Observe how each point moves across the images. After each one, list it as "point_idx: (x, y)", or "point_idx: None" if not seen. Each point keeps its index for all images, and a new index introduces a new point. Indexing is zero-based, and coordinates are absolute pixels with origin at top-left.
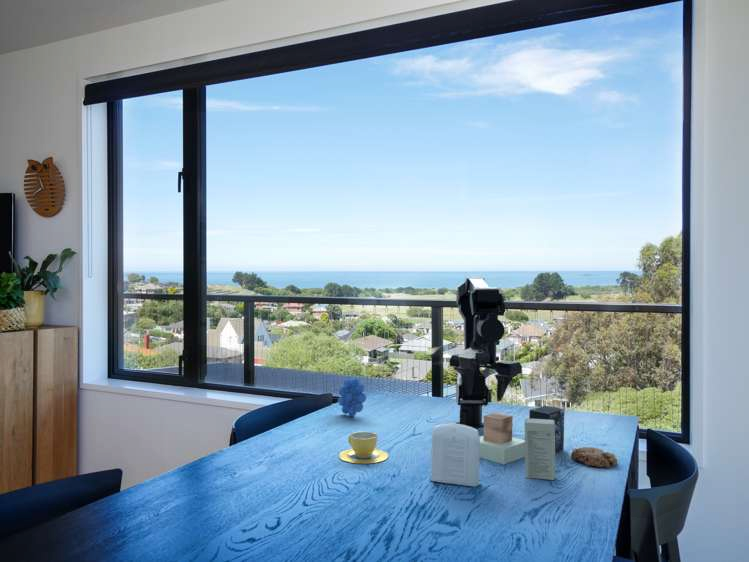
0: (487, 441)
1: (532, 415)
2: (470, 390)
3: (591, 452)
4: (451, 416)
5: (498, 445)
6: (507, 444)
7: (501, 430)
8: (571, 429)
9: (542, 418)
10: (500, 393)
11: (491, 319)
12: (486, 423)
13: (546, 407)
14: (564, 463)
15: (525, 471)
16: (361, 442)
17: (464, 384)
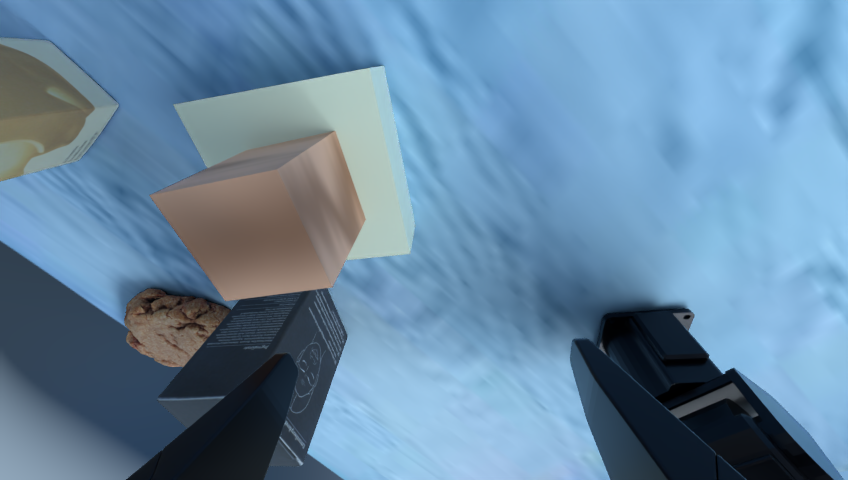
0: (308, 130)
1: (244, 374)
2: (583, 387)
3: (165, 335)
4: (759, 363)
5: (233, 125)
6: None
7: (203, 171)
8: (420, 446)
9: (202, 372)
10: (216, 410)
11: None
12: (279, 158)
13: None
14: (189, 263)
15: (23, 39)
16: None
17: (678, 422)
